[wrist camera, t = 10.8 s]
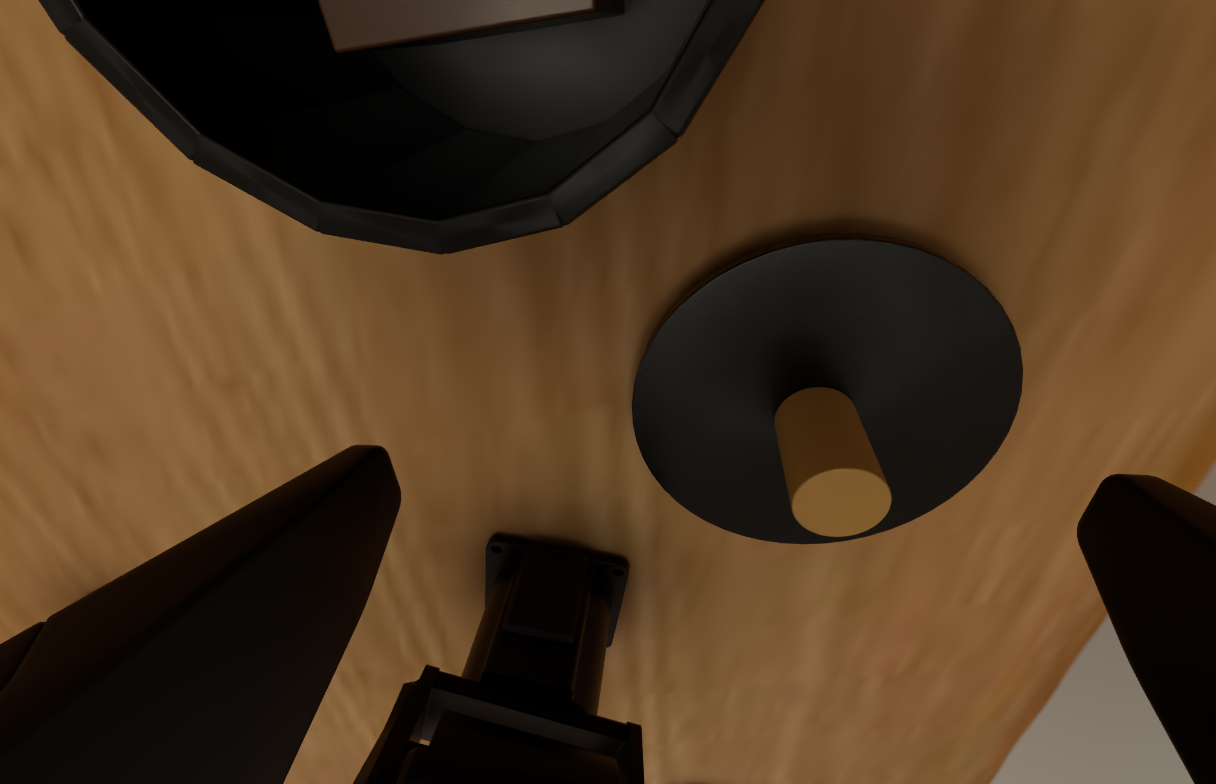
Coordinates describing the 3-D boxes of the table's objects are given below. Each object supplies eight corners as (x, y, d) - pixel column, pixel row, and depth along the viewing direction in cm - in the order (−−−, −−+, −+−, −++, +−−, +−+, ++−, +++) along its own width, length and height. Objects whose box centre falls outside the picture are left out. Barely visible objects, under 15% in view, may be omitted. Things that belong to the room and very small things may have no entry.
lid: (906, 547, 23) (956, 667, 19) (613, 492, 23) (595, 598, 19) (1092, 265, 16) (1237, 353, 12) (670, 193, 16) (662, 254, 12)
